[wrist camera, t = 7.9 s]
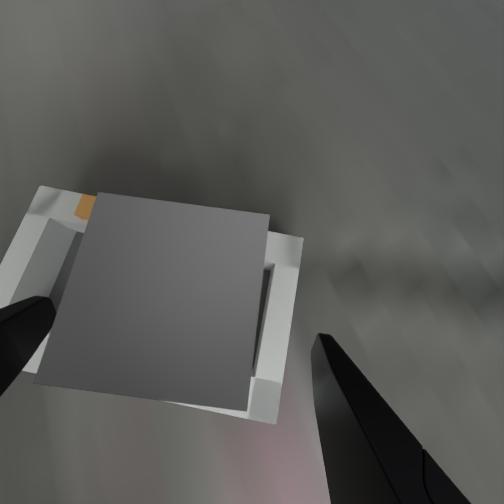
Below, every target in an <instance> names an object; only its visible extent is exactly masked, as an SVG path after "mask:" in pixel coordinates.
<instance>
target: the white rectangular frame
mask: <svg viewBox="0 0 504 504" xmlns="http://www.w3.org/2000/svg"><path fill="white" fill-rule="evenodd" d="M95 199H96V196H91V195H86V194H81V193H76V192H71V191H66V190H61V189H56V188H51V187H46V186H41V185H40V187H39V189H38V191H37V193H36V195H35V197H34V199H33V201H32V203H31V205H30V207H29V209H28V211H27V213H26V215H25V217H24V219H23V221H22V223H21V225H20V227H19V229H18V231H17V233H16V235H15V237H14V239H13V241H12V243H11V245H10V247H9V249H8V251H7V253H6V255H5V257H4V259H3V261H2V263H1V265H0V308H3V307H5V306H8V305H11V304H13V303H16V302H19V301H21V300H24V299H27V298H29V297H32V296H46V297H50V298H51V299H52V301H53V304H54V307H55V309H56V312H57V311H58V308H59V305H60V303H61V300H62V297H63V294H64V291H65V288H66V285H67V282H68V279H69V276H70V273H71V270H72V267H73V264H74V261H75V258H76V255H77V252H78V249H79V246H80V243H81V241H82V238H83V235H84V232H85V229H86V226H87V223H88V220H89V217H90V214H91V211H92V208H93V205H94V202H95ZM303 239H304V238H300V237H295V236H290V235H285V234H280V233H275V232H270V231H268V235H267V244H266V252H265V261H264V270H263V278H262V287H261V295H260V304H259V313H258V321H257V330H256V338H255V347H254V355H253V364H252V373H251V381H250V390H249V398H248V407H247V412H245V411H238V410H230V409H222V408H215V407H207V406H200V405H192V404H185V403H177V402H171V403H176V404H180V405H185V406H190V407H194V408H199V409H204V410H208V411H213V412H218V413H222V414H227V415H232V416H236V417H241V418H246V419H250V420H255V421H260V422H264V423H269V424H274V425H276V422H277V415H278V409H279V402H280V395H281V388H282V382H283V375H284V368H285V361H286V354H287V348H288V341H289V334H290V327H291V321H292V314H293V307H294V300H295V294H296V287H297V280H298V273H299V266H300V260H301V253H302V246H303ZM51 329H52V328H51ZM50 332H51V330H50V331H49V333H48V334H47V336H46V337H45V339H44V340H43V342H42V343H41V344H40V346H39V347H38V349H37V350H36V352H35V353H34V355H33V356H32V358H31V359H30V360H29V362H28V363H27V364H26V366H25V367H24V368H23V370H22V371H27V372H31V373H37V370H38V367H39V364H40V362H41V359H42V356H43V353H44V350H45V347H46V344H47V341H48V338H49V335H50ZM166 402H169V401H166Z"/></svg>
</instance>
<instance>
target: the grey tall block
mask: <svg viewBox="0 0 504 504" xmlns="http://www.w3.org/2000/svg"><path fill="white" fill-rule="evenodd" d="M269 218H270V215H268V214H260V213H253V212H245V211H238V210H230V209H223V208H215V207H208V206H200V205H193V204H185V203H178V202H170V201H163V200H155V199H148V198H140V197H133V196H125V195H118V194H110V193H103V192H98V193H97V196H96V199H95V202H94V205H93V208H92V211H91V214H90V217H89V220H88V223H87V226H86V229H85V232H84V235H83V238H82V241H81V243H80V246H79V249H78V252H77V255H76V258H75V261H74V264H73V267H72V270H71V273H70V276H69V279H68V282H67V285H66V288H65V291H64V294H63V297H62V300H61V303H60V305H59V308H58V311H57V314H56V317H55V320H54V323H53V326H52V329H51V332H50V335H49V338H48V341H47V344H46V347H45V350H44V353H43V356H42V359H41V362H40V364H39V367H38V370H37V373H36V376H35V379H34V382H33V384H41V385H48V386H56V387H63V388H71V389H78V390H86V391H94V392H101V393H109V394H116V395H124V396H131V397H139V398H147V399H154V400H162V401H169V402H177V403H185V404H192V405H200V406H207V407H215V408H222V409H230V410H238V411H245V412H247V407H248V398H249V390H250V381H251V373H252V364H253V355H254V347H255V338H256V330H257V321H258V313H259V304H260V295H261V287H262V278H263V270H264V261H265V252H266V244H267V235H268V227H269Z"/></svg>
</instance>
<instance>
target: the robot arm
mask: <svg viewBox="0 0 504 504" xmlns="http://www.w3.org/2000/svg"><path fill="white" fill-rule="evenodd" d="M56 314H57V312H56V309H55V307H54V304H53V301H52V299H51V298H50V297H46V296H32V297H29V298H27V299H24V300H21V301H19V302H16V303H13V304H11V305H8V306H5V307H3V308H0V396H1V395H2V394H3V393H4V392H5V390H6V389H7V388H8V387H9V386H10V384H11V383H12V382H13V381H14V379H15V378H16V377H17V376H18V375H19V373H20V372H21V371H22V370H23V368H24V367H25V366H26V364H27V363H28V362H29V360H30V359H31V358H32V356H33V355H34V353H35V352H36V350H37V349H38V347H39V346H40V344H41V343H42V342H43V340H44V339H45V337H46V336H47V334H48V333H49V331H50V330H51V328H52V326H53V323H54V320H55V317H56ZM311 366H312V381H313V396H314V406H315V413H316V419H317V424H318V430H319V436H320V442H321V448H322V454H323V460H324V465H325V471H326V477H327V483H328V489H329V495H330V501H331V504H471V503H470V502H469V501H468V499H467V498H466V497H465V496H464V495H463V494H462V493H461V491H460V490H459V489H458V488H457V487H456V486H455V484H454V483H453V482H452V481H451V480H450V478H449V477H448V476H447V475H446V474H445V473H444V471H443V470H442V469H441V468H440V467H439V466H438V464H437V463H436V462H435V461H434V459H433V458H432V457H431V456H430V455H429V453H428V452H427V451H426V450H425V449H423V448H422V445H421V444H420V443H419V441H418V440H417V439H416V438H415V437H414V435H413V434H412V433H411V432H410V430H409V429H408V428H407V427H406V426H405V424H404V423H403V422H402V421H401V420H400V418H399V417H398V416H397V415H396V414H395V412H394V411H393V410H392V409H391V407H390V406H389V405H388V404H387V403H386V401H385V400H384V399H383V398H382V397H381V395H380V394H379V393H378V392H377V390H376V389H375V388H374V387H373V386H372V384H371V383H370V382H369V381H368V380H367V378H366V377H365V376H364V375H363V373H362V372H361V371H360V370H359V369H358V367H357V366H356V365H355V364H354V363H353V361H352V360H351V359H350V358H349V356H348V355H347V354H346V353H345V352H344V350H343V349H342V348H341V347H340V346H339V344H338V343H337V342H336V341H335V339H334V338H333V337H332V336H331V335H329V334H323V333H318V334H317V335H316V338H315V341H314V344H313V346H312V349H311Z"/></svg>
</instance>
